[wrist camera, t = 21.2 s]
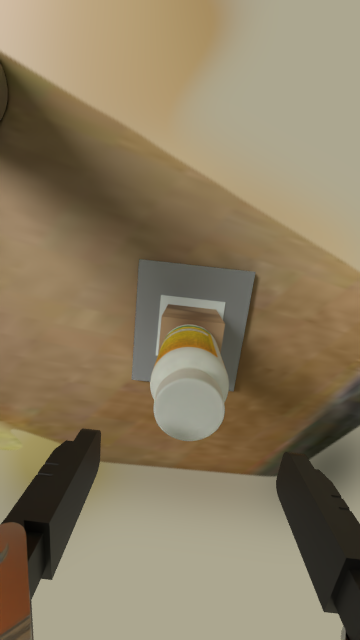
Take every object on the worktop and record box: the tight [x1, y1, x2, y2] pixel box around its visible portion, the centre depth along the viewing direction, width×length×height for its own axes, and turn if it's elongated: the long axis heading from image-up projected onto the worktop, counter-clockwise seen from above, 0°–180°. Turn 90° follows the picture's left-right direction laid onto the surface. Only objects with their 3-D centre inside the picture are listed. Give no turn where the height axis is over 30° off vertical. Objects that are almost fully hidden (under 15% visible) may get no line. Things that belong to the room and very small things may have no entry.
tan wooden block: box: [158, 304, 225, 355], centre depth 25 cm, size 6×6×7 cm
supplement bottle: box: [150, 325, 229, 441], centre depth 17 cm, size 5×5×10 cm
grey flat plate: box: [132, 259, 255, 391], centre depth 29 cm, size 14×16×1 cm
